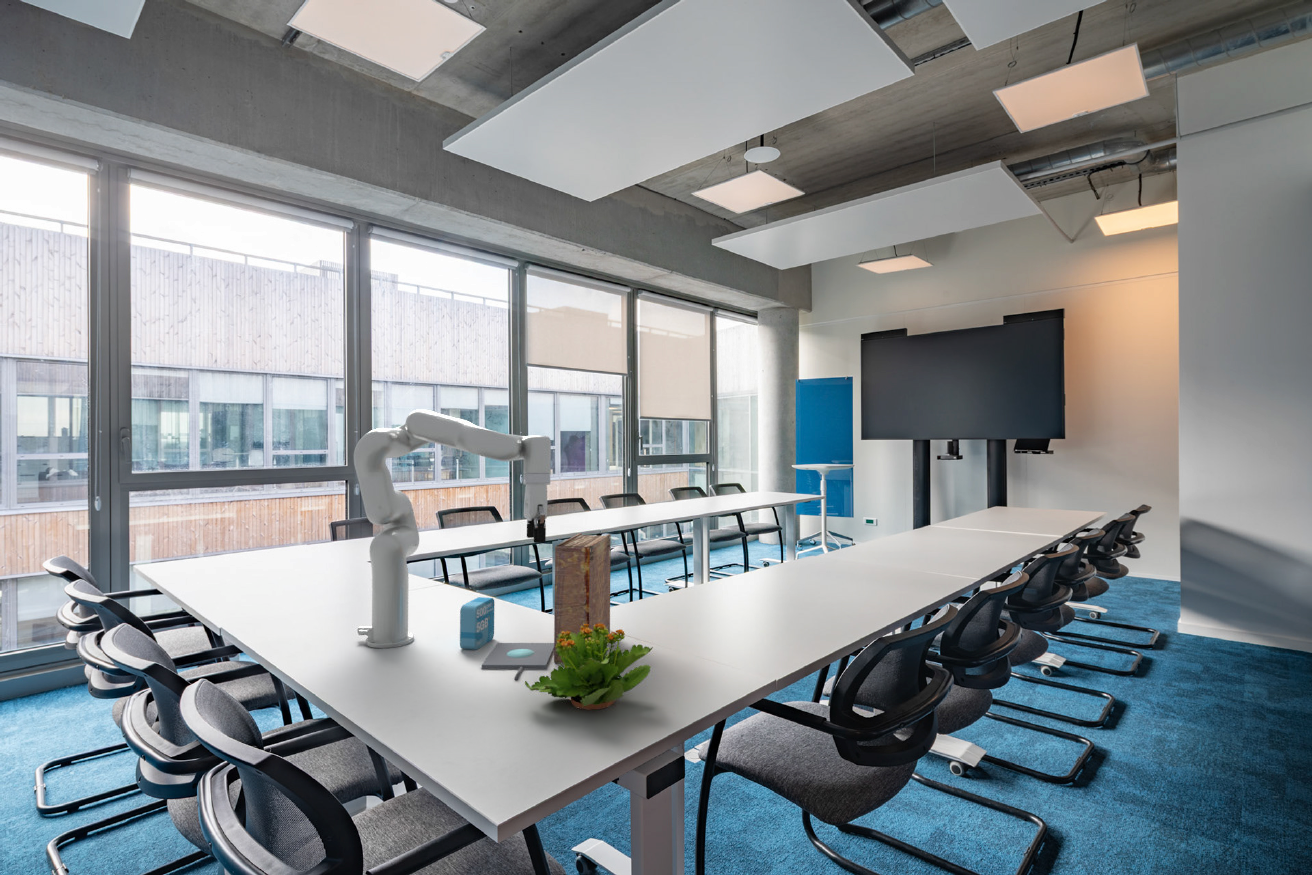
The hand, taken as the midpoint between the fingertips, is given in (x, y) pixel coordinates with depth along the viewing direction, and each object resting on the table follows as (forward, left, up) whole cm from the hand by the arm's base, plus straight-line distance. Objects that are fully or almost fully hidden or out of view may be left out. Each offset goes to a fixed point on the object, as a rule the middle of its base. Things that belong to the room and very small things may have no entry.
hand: (535, 539), depth 186 cm
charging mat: (-2, -17, -29) cm, 33 cm away
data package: (-16, -2, -29) cm, 33 cm away
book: (+14, -6, -29) cm, 33 cm away
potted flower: (+20, -42, -29) cm, 55 cm away
